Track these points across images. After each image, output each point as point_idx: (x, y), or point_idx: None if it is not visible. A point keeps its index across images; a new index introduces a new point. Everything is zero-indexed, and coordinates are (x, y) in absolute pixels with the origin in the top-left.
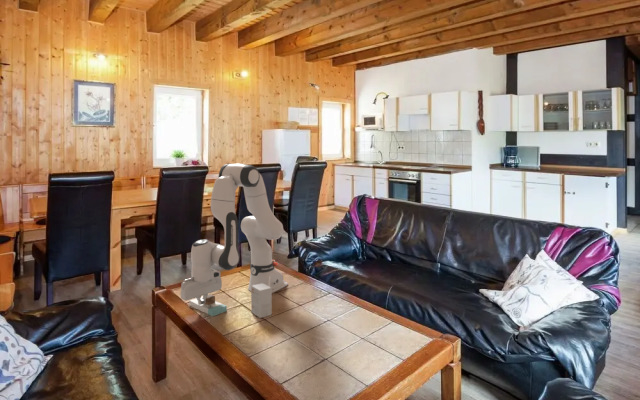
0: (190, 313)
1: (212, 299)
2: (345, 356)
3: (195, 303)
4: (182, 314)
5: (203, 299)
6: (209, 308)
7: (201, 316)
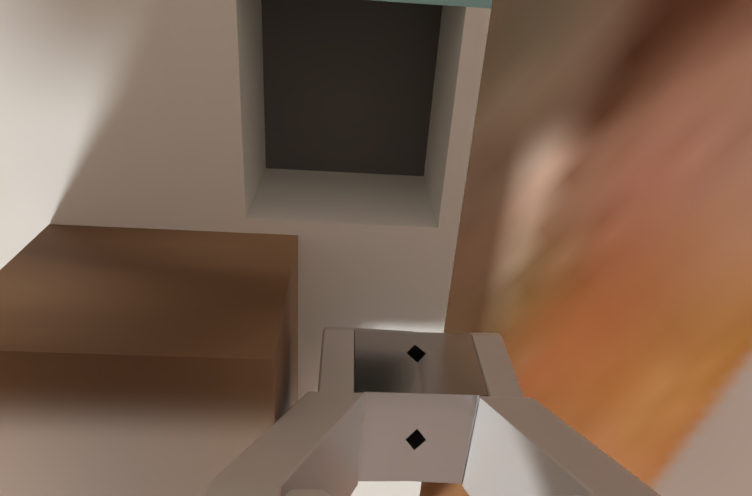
0: (623, 313)
1: (92, 297)
2: None
3: (419, 488)
4: (723, 373)
5: (357, 442)
6: (275, 180)
7: (637, 22)
